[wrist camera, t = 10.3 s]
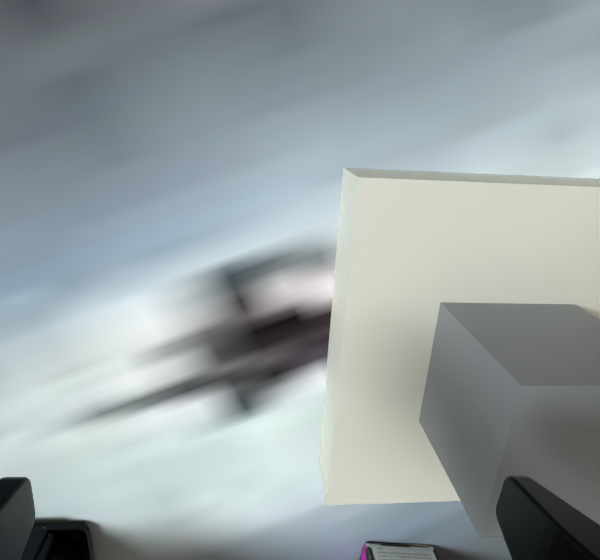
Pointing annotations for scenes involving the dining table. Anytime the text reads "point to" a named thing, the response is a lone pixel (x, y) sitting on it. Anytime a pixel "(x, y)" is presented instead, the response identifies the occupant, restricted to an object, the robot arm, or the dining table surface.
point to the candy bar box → (397, 552)
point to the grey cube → (515, 403)
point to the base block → (433, 304)
